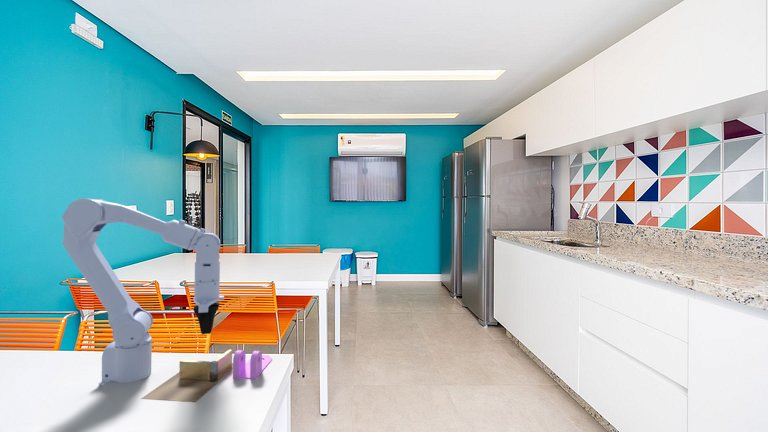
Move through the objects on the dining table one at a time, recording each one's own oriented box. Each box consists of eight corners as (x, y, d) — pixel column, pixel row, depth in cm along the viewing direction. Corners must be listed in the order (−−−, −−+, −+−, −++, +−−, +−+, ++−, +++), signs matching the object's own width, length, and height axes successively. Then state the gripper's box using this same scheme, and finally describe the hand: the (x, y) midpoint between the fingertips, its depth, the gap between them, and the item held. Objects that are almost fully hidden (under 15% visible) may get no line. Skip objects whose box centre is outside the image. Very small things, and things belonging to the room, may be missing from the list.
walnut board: (141, 403, 76) (141, 398, 76) (195, 364, 95) (195, 360, 95) (195, 406, 76) (195, 402, 75) (239, 367, 94) (239, 363, 94)
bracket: (255, 383, 86) (256, 354, 86) (232, 382, 87) (233, 353, 86) (274, 360, 99) (275, 335, 99) (254, 359, 100) (255, 334, 99)
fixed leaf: (207, 381, 84) (208, 363, 84) (227, 365, 93) (227, 349, 93) (215, 382, 84) (215, 364, 84) (233, 366, 93) (234, 349, 93)
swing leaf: (181, 376, 86) (181, 359, 86) (209, 378, 86) (209, 361, 85) (179, 378, 85) (179, 361, 85) (207, 379, 85) (208, 362, 85)
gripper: (222, 285, 87) (221, 341, 87) (226, 274, 100) (225, 323, 101) (188, 286, 84) (188, 344, 85) (198, 275, 98) (197, 325, 98)
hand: (206, 333), depth 93 cm, fingers closed
